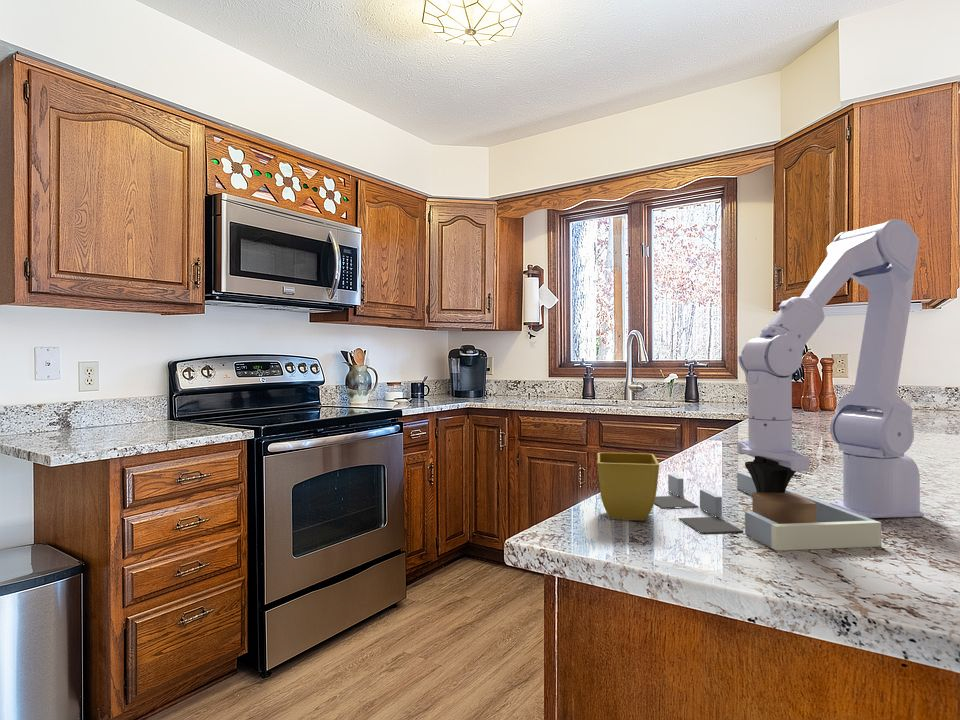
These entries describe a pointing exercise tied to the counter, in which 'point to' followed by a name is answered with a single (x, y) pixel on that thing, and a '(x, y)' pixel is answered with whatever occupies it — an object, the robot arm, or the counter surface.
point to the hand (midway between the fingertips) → (770, 511)
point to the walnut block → (784, 507)
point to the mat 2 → (710, 525)
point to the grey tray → (755, 522)
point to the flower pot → (628, 484)
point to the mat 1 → (672, 502)
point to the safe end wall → (825, 535)
